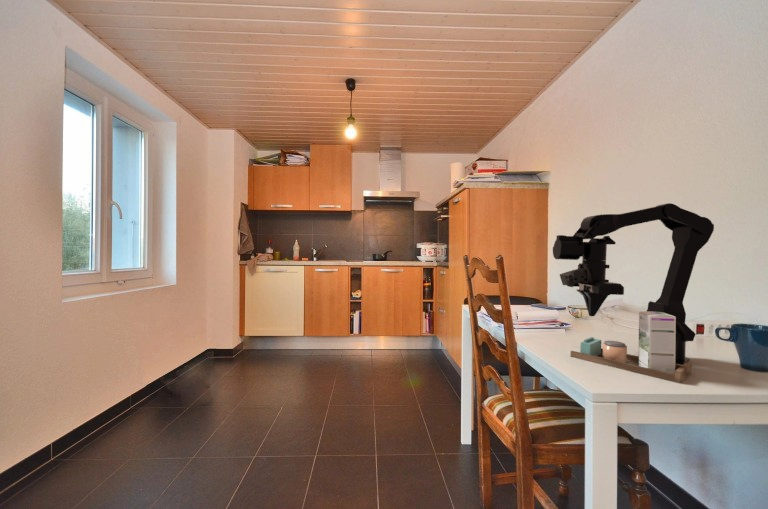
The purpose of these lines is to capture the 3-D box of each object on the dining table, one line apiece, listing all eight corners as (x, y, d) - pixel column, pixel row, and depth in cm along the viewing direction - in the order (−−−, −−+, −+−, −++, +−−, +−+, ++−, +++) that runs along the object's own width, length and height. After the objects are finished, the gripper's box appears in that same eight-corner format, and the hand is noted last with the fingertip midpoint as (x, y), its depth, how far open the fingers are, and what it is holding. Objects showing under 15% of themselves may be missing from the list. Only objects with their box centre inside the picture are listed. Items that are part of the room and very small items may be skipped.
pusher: (592, 351, 102) (592, 336, 102) (601, 353, 100) (601, 337, 100) (580, 356, 97) (580, 340, 97) (589, 359, 95) (589, 342, 95)
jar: (629, 362, 94) (630, 343, 94) (622, 366, 90) (622, 347, 90) (606, 357, 98) (607, 339, 98) (599, 361, 95) (599, 342, 94)
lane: (586, 350, 104) (586, 341, 104) (691, 373, 86) (691, 363, 86) (570, 356, 98) (570, 347, 98) (680, 383, 79) (680, 372, 79)
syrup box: (676, 376, 84) (678, 316, 83) (648, 374, 85) (649, 314, 85) (662, 368, 89) (664, 311, 89) (636, 366, 90) (638, 310, 90)
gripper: (550, 258, 107) (548, 309, 108) (580, 261, 89) (578, 322, 89) (588, 259, 107) (586, 310, 107) (626, 262, 88) (623, 323, 89)
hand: (591, 316), depth 98 cm, fingers closed
